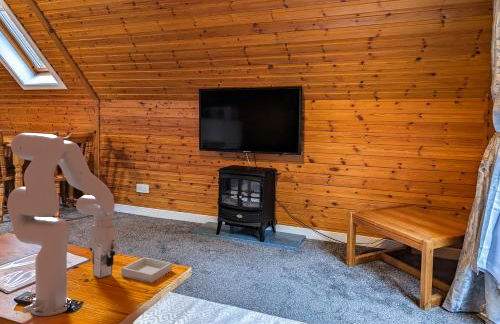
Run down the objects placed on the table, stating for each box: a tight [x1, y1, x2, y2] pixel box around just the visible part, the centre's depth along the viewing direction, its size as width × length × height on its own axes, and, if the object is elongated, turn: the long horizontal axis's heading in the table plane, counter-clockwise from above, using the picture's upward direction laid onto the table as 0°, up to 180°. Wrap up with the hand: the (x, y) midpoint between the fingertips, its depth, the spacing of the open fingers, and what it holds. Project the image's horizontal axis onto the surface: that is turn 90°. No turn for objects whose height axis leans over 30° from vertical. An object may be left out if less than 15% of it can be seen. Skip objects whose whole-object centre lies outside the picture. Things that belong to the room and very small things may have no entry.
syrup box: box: [92, 243, 113, 279], centre depth 162 cm, size 6×6×14 cm
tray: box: [121, 256, 173, 284], centre depth 167 cm, size 15×15×4 cm
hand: (102, 263), depth 162 cm, fingers closed on syrup box, 7 cm apart
